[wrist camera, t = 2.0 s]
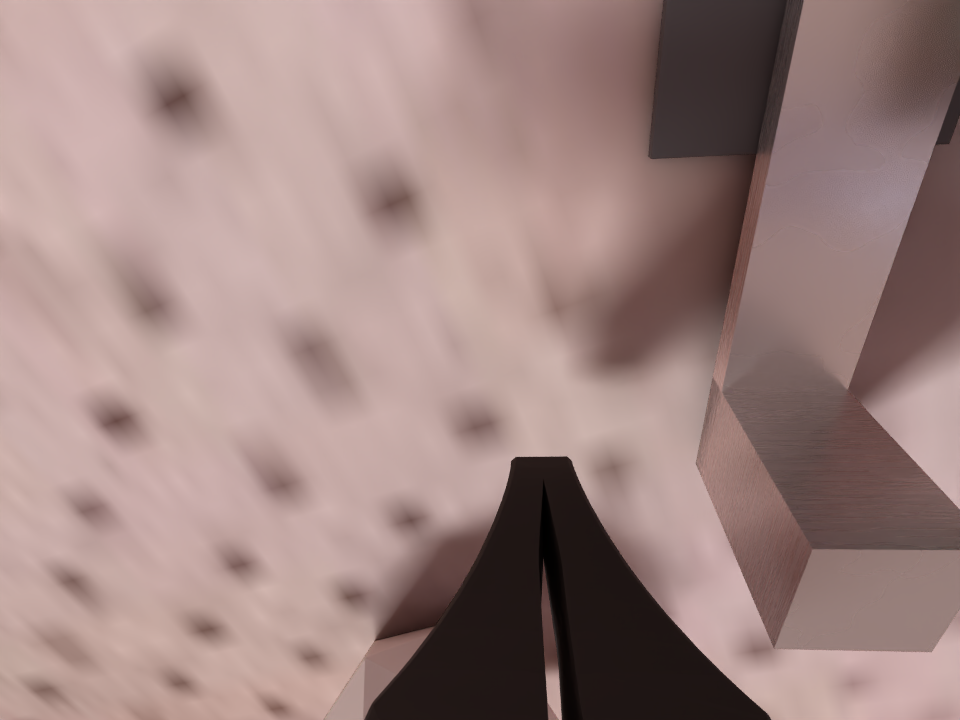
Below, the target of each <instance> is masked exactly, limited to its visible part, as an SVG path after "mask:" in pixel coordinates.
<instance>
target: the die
mask: <svg viewBox="0 0 960 720" xmlns="http://www.w3.org/2000/svg"><path fill="white" fill-rule="evenodd" d="M434 627H435V626H433V627H429V628H425V629H421V630H417V631H413V632H409V633H405V634H401V635H397V636H393V637H389V638H385V639H381V640H377V641H374V643H373V644H372V646H371V647H370V649H369V650H368V652H367V653H366V655H365V657H364V658H363V660H362V661H361V663H360V664H359V666H358V667H357V669H356V670H355V672H354V673H353V675H352V677H351V678H350V680H349V681H348V683H347V684H346V686H345V687H344V689H343V690H342V692H341V693H340V695H339V697H338V698H337V700H336V701H335V703H334V704H333V706H332V707H331V709H330V710H329V712H328V713H327V715H326V717H325V718H324V720H364V719H365V717H366V715H367V712H368V710H369V708H370V706H371V704H372V702H373V701H374V700H375V699H376V698H377V697H378V695H379V694H380V693H381V692H382V691H383V690H384V689H385V687H386V686H387V685H388V684H389V683H390V682H391V681H392V679H393V678H394V677H395V676H396V675H397V674H398V673H399V671H400V670H401V669H402V668H403V667H404V666H405V664H406V663H407V662H408V661H409V660H410V658H411V657H412V656H413V654H414V653H415V652H416V650H417V649H418V648H419V647H420V645H421V644H422V643H423V641H424V640H425V639H426V637H427V636H428V635H429V633H430V632H431V631H432V629H433V628H434ZM547 705H548V720H559V719H558V718H557V716H556V715H555V713H554V712H553V710H552V709H551V707H550V706H549V704H548V703H547Z"/></svg>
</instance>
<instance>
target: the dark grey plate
mask: <svg viewBox="0 0 960 720" xmlns="http://www.w3.org/2000/svg"><path fill="white" fill-rule="evenodd" d="M786 2H787V0H664V1H663V12H662V22H661V32H660V42H659V53H658V63H657V73H656V83H655V94H654V104H653V114H652V124H651V135H650V145H649V155H648V156H649V157H650V158H651V159H662V158H681V157H701V156H721V155H741V154H757V150H758V144H759V139H760V134H761V129H762V124H763V119H764V114H765V109H766V104H767V99H768V94H769V88H770V83H771V78H772V73H773V68H774V63H775V58H776V53H777V48H778V43H779V38H780V32H781V27H782V22H783V17H784V12H785V7H786ZM959 116H960V76H959V79H958V82H957V85H956V88H955V90H954V93H953V96H952V99H951V102H950V104H949V107H948V110H947V113H946V116H945V118H944V121H943V124H942V127H941V130H940V132H939V135H938V138H937V141H936V144H935V145H938V144H949V143H950V140H951V137H952V135H953V132H954V129H955V127H956V124H957V121H958V118H959Z"/></svg>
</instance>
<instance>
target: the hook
mask: <svg viewBox="0 0 960 720" xmlns="http://www.w3.org/2000/svg"><path fill="white" fill-rule="evenodd" d="M959 76H960V0H787V2H786V7H785V12H784V17H783V22H782V27H781V32H780V38H779V43H778V48H777V53H776V58H775V63H774V68H773V73H772V78H771V83H770V88H769V94H768V99H767V104H766V109H765V114H764V119H763V124H762V129H761V134H760V139H759V144H758V150H757V155H756V160H755V165H754V170H753V175H752V180H751V185H750V190H749V195H748V201H747V206H746V211H745V216H744V221H743V226H742V231H741V236H740V241H739V246H738V251H737V257H736V262H735V267H734V272H733V277H732V282H731V287H730V292H729V297H728V302H727V308H726V313H725V318H724V323H723V328H722V333H721V338H720V343H719V348H718V353H717V358H716V364H715V369H714V374H713V379H712V384H711V389H710V394H709V399H708V404H707V409H706V415H705V420H704V425H703V430H702V435H701V440H700V445H699V450H698V455H697V460H696V465H697V467H698V470H699V472H700V474H701V477H702V479H703V481H704V484H705V486H706V489H707V491H708V493H709V496H710V498H711V500H712V503H713V505H714V508H715V510H716V512H717V515H718V517H719V519H720V522H721V524H722V527H723V529H724V531H725V534H726V536H727V538H728V541H729V543H730V546H731V548H732V550H733V553H734V555H735V557H736V560H737V562H738V565H739V567H740V569H741V572H742V574H743V576H744V579H745V581H746V584H747V586H748V588H749V591H750V593H751V595H752V598H753V600H754V603H755V605H756V607H757V610H758V612H759V614H760V617H761V619H762V621H763V624H764V626H765V629H766V631H767V633H768V636H769V638H770V640H771V643H772V645H773V648H774V649H806V650H853V651H901V652H932V651H933V649H934V648H935V646H936V645H937V643H938V642H939V640H940V639H941V637H942V635H943V634H944V632H945V631H946V629H947V628H948V626H949V625H950V623H951V622H952V620H953V619H954V617H955V616H956V614H957V613H958V611H959V610H960V509H959V508H958V507H957V506H956V505H955V504H954V503H953V502H952V501H951V500H950V499H949V498H948V496H947V495H946V494H945V493H944V492H943V491H942V490H941V489H940V488H939V487H938V486H937V485H936V484H935V483H934V482H933V480H932V479H931V478H930V477H929V476H928V475H927V474H926V473H925V472H924V471H923V470H922V469H921V468H920V467H919V466H918V464H917V463H916V462H915V461H914V460H913V459H912V458H911V457H910V456H909V455H908V454H907V453H906V452H905V451H904V450H903V448H902V447H901V446H900V445H899V444H898V443H897V442H896V441H895V440H894V439H893V438H892V437H891V436H890V435H889V434H888V432H887V431H886V430H885V429H884V428H883V427H882V426H881V425H880V424H879V423H878V422H877V421H876V420H875V419H874V418H873V417H872V415H871V414H870V413H869V412H868V411H867V410H866V409H865V408H864V407H863V406H862V405H861V404H860V403H859V402H858V401H857V399H856V398H855V397H854V396H853V395H852V394H851V393H850V392H849V391H848V388H849V385H850V382H851V379H852V376H853V374H854V371H855V368H856V365H857V362H858V360H859V357H860V354H861V351H862V348H863V346H864V343H865V340H866V337H867V334H868V332H869V329H870V326H871V323H872V320H873V318H874V315H875V312H876V309H877V306H878V304H879V301H880V298H881V295H882V292H883V289H884V287H885V284H886V281H887V278H888V275H889V273H890V270H891V267H892V264H893V261H894V259H895V256H896V253H897V250H898V247H899V245H900V242H901V239H902V236H903V233H904V231H905V228H906V225H907V222H908V219H909V217H910V214H911V211H912V208H913V205H914V203H915V200H916V197H917V194H918V191H919V189H920V186H921V183H922V180H923V177H924V174H925V172H926V169H927V166H928V163H929V160H930V158H931V155H932V152H933V149H934V146H935V144H936V141H937V138H938V135H939V132H940V130H941V127H942V124H943V121H944V118H945V116H946V113H947V110H948V107H949V104H950V102H951V99H952V96H953V93H954V90H955V88H956V85H957V82H958V79H959Z"/></svg>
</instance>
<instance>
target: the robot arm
mask: <svg viewBox="0 0 960 720" xmlns="http://www.w3.org/2000/svg"><path fill="white" fill-rule="evenodd" d="M543 559H544V566H545V573H546V580H547V587H548V593H549V600H550V607H551V614H552V620H553V627H554V634H555V641H556V648H557V657H558V666H559V680H560V696H561V712H562V720H771V718H770V717H769V715H768V714H767V713H766V712H765V711H764V710H762V709H761V708H760V707H759V706H758V705H757V704H756V703H755V702H753V701H752V700H751V699H750V698H749V697H748V696H747V695H746V694H744V693H743V692H742V691H741V690H740V689H739V688H738V687H737V686H736V685H735V684H734V683H733V682H732V681H731V680H729V679H728V678H727V677H726V676H725V675H724V674H723V673H722V672H721V671H720V670H719V669H718V668H717V667H716V666H715V665H714V664H713V663H712V662H711V661H710V660H709V659H708V658H707V657H706V656H705V655H704V654H703V653H702V652H701V651H700V650H699V649H698V648H697V647H696V646H695V645H694V644H693V642H692V641H691V640H690V639H689V638H688V637H687V636H686V635H685V634H684V633H683V632H682V630H681V629H680V628H679V627H678V626H677V625H676V624H675V623H674V622H673V621H672V619H671V618H670V617H669V616H668V615H667V614H666V613H665V612H664V610H663V609H662V608H661V607H660V606H659V604H658V603H657V602H656V601H655V600H654V598H653V597H652V596H651V595H650V593H649V592H648V591H647V590H646V588H645V587H644V586H643V584H642V583H641V582H640V580H639V579H638V578H637V577H636V575H635V574H634V573H633V571H632V570H631V568H630V567H629V566H628V564H627V563H626V561H625V560H624V558H623V557H622V555H621V554H620V552H619V551H618V549H617V548H616V546H615V545H614V543H613V542H612V540H611V539H610V537H609V535H608V534H607V532H606V531H605V529H604V527H603V525H602V524H601V522H600V520H599V519H598V517H597V515H596V513H595V512H594V510H593V508H592V506H591V504H590V502H589V500H588V499H587V497H586V494H585V492H584V490H583V488H582V486H581V484H580V482H579V480H578V477H577V475H576V472H575V470H574V467H573V464H572V461H571V460H570V459H569V458H568V457H515V458H514V459H513V460H512V461H511V469H510V474H509V478H508V482H507V486H506V489H505V492H504V495H503V499H502V501H501V504H500V507H499V509H498V512H497V514H496V517H495V520H494V522H493V525H492V527H491V529H490V531H489V533H488V536H487V538H486V540H485V542H484V544H483V546H482V548H481V550H480V553H479V555H478V557H477V558H476V560H475V562H474V564H473V566H472V568H471V570H470V572H469V573H468V575H467V577H466V579H465V580H464V582H463V584H462V585H461V587H460V589H459V590H458V592H457V594H456V595H455V597H454V598H453V600H452V601H451V603H450V605H449V606H448V608H447V609H446V611H445V612H444V614H443V615H442V617H441V618H440V620H439V621H438V622H437V624H436V625H435V627H434V628H433V629H432V631H431V632H430V633H429V635H428V636H427V637H426V639H425V640H424V641H423V643H422V644H421V645H420V647H419V648H418V649H417V650H416V652H415V653H414V654H413V656H412V657H411V658H410V660H409V661H408V662H407V663H406V664H405V666H404V667H403V668H402V669H401V670H400V671H399V673H398V674H397V675H396V676H395V677H394V678H393V679H392V681H391V682H390V683H389V684H388V685H387V686H386V687H385V689H384V690H383V691H382V692H381V693H380V694H379V695H378V697H377V698H376V699H375V700H374V701H373V702H372V704H371V706H370V708H369V710H368V712H367V715H366V717H365V719H364V720H548V705H547V691H546V676H545V661H544V646H543V630H542V613H541V597H542V574H543Z"/></svg>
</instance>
